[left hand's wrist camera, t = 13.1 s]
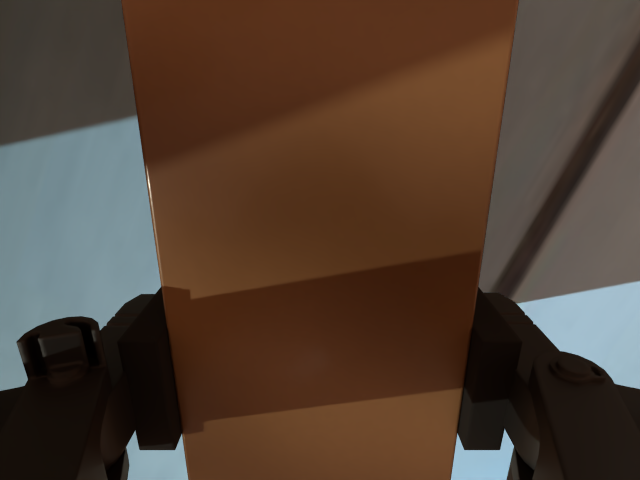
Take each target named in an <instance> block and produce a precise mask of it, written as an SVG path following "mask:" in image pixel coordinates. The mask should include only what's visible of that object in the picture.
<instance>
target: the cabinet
mask: <svg viewBox="0 0 640 480" xmlns="http://www.w3.org/2000/svg"><path fill="white" fill-rule="evenodd" d="M121 2H122V9H123V16H124V23H125V31H126V38H127V45H128V52H129V59H130V66H131V73H132V80H133V88H134V95H135V102H136V109H137V116H138V123H139V130H140V138H141V145H142V152H143V159H144V166H145V173H146V180H147V187H148V195H149V202H150V209H151V216H152V223H153V230H154V237H155V244H156V252H157V259H158V266H159V273H160V280H161V287H162V294H163V302H164V309H165V316H166V323H167V330H168V337H169V344H170V351H171V359H172V366H173V373H174V380H175V387H176V394H177V401H178V408H179V416H180V423H181V430H182V437H183V444H184V451H185V458H186V466H187V473H188V480H451V474H452V467H453V460H454V452H455V445H456V438H457V431H458V424H459V417H460V410H461V403H462V396H463V389H464V382H465V375H466V368H467V361H468V354H469V347H470V340H471V333H472V326H473V319H474V312H475V305H476V298H477V291H478V284H479V277H480V270H481V263H482V256H483V249H484V242H485V235H486V228H487V221H488V214H489V207H490V200H491V193H492V186H493V179H494V172H495V165H496V158H497V151H498V144H499V137H500V130H501V123H502V116H503V109H504V102H505V94H506V87H507V80H508V73H509V66H510V59H511V52H512V45H513V38H514V31H515V24H516V17H517V10H518V3H519V0H121Z"/></svg>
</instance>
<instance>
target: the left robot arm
mask: <svg viewBox="0 0 640 480" xmlns="http://www.w3.org/2000/svg"><path fill="white" fill-rule="evenodd" d="M17 345H18V348H19V352H20V355H21V358H22V361H23V364H24V368H25V371H26V374H27V377H28V381H27V383H26V385H25V386H22V387H18V388H13V389H8V390H3V391H0V480H127V478H128V471H129V459H128V454H127V449H126V446H127V444H128V442H129V441H130V439H131V437H132V435H133V433H134V431H135V430H136V435H137V440H138V445H139V449H140V450H175V449H176V447H177V444H178V442H179V439H180V437H181V434H182V430H181V423H180V416H179V408H178V401H177V394H176V387H175V380H174V373H173V366H172V359H171V351H170V344H169V337H168V330H167V323H166V316H165V309H164V302H163V294H162V287H161V288H160V289H159V290H158V291H157V293H156V294H141V295H139V296H137V297H135V298H134V299H132V300H130V301H129V302H127V303H125V304H124V305H123V306H122V307H121V309H120V310H119V311H118V312H117V313H116V314H115V317H112V318H111V319H110V321H109V322H108V323H107V326H104V327H103V328H102V329H101V330H100V329H99V325H98V322H96V321H95V320H94V319H92V318H88V317H82V316H79V317H66V318H62V319H57V320H53V321H50V322H47V323H45V324H42V325H39V326H37V327H35V328H34V329H32V330H30V331H28V332H27V333H25V334H24V335H23V336H22V337H21V338H20V339H19V340H18V341H17ZM504 428H505V430H506V432H507V434H508V436H509V437H510V439H511V441H512V443H513V445H514V449H513V454H512V458H511V463H510V467H509V471H508V476H507V480H640V389H636V388H631V387H626V386H621V385H617V384H614V382H613V380H612V378H611V377H610V376H609V375H608V374H607V373H606V371H605V370H604V369H602V368H601V367H599V366H598V365H596V364H595V363H594V362H592V361H590V360H587V359H585V358H583V357H581V356H578V355H575V354H571V353H567V352H562V351H559V350H558V349H557V347H556V346H555V345H554V344H553V343H552V342H551V341H550V340H549V339H548V338H547V337H546V336H545V334H544V333H543V332H542V331H541V330H540V329H539V328H538V327H537V326H536V325H535V324H533V321H532V320H531V319H530V318H529V317H528V316H527V315H525V313H524V312H523V311H522V309H521V308H520V307H519V306H518V305H517V304H516V303H515V302H514V301H512V300H510V299H509V298H507V297H505V296H503V295H502V294H500V293H483V292H482V291H481V290H480V288H479V287H478V291H477V298H476V305H475V312H474V319H473V326H472V333H471V340H470V347H469V354H468V361H467V368H466V375H465V382H464V389H463V396H462V403H461V410H460V417H459V424H458V431H457V433H458V435H459V438H460V440H461V443H462V445H463V448H464V450H500V447H501V443H502V438H503V433H504Z"/></svg>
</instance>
